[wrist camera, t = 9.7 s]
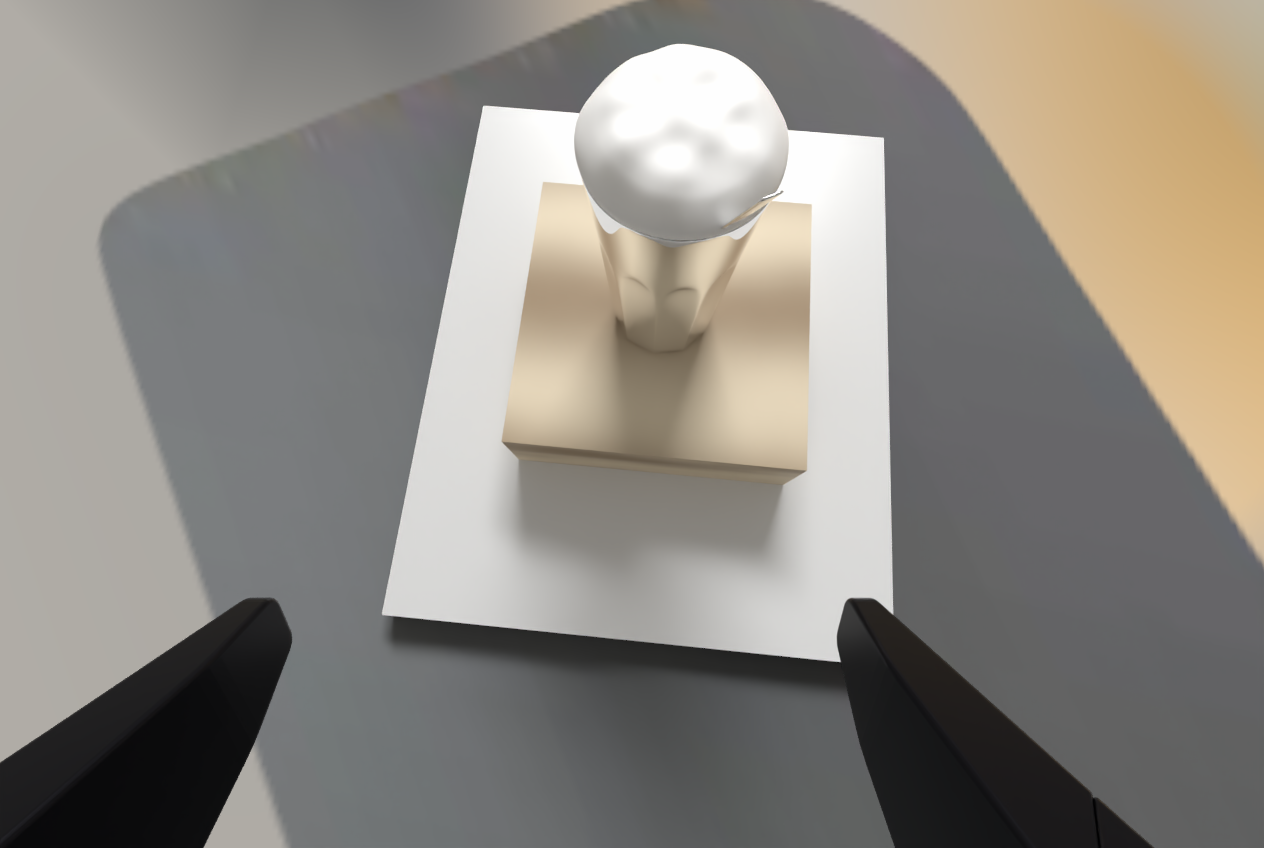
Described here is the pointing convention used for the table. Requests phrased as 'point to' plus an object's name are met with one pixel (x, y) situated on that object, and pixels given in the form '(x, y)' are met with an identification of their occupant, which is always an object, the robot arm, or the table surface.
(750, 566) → the baseplate
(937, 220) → the table surface
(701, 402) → the plinth
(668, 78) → the milkshake
